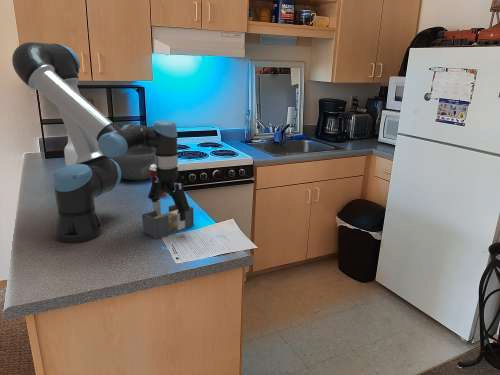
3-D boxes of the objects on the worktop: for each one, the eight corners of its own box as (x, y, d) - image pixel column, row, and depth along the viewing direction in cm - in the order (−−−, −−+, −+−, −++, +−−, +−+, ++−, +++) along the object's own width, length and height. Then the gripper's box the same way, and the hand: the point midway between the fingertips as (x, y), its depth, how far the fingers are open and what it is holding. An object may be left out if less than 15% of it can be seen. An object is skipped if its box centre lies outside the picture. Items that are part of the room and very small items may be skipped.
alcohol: (74, 190, 176) (66, 125, 167) (65, 186, 181) (57, 122, 172) (92, 186, 183) (85, 123, 173) (83, 182, 188) (76, 121, 179)
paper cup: (164, 199, 169) (162, 168, 165) (147, 197, 171) (146, 166, 166) (171, 193, 176) (170, 164, 172) (155, 191, 178) (154, 162, 174)
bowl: (168, 180, 195) (167, 151, 191) (121, 188, 181) (118, 157, 177) (149, 169, 214) (147, 143, 209) (104, 175, 200) (102, 147, 195)
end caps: (156, 239, 131) (155, 220, 129) (143, 232, 135) (142, 214, 133) (193, 224, 143) (193, 207, 141) (180, 219, 148) (180, 202, 146)
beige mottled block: (158, 234, 133) (157, 221, 132) (151, 231, 136) (150, 218, 134) (187, 224, 143) (186, 211, 141) (180, 221, 145) (179, 208, 144)
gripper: (199, 171, 127) (200, 229, 134) (153, 158, 142) (156, 211, 149) (182, 175, 122) (183, 236, 128) (136, 161, 137) (139, 216, 144)
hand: (168, 223), depth 139 cm, fingers open, 13 cm apart
